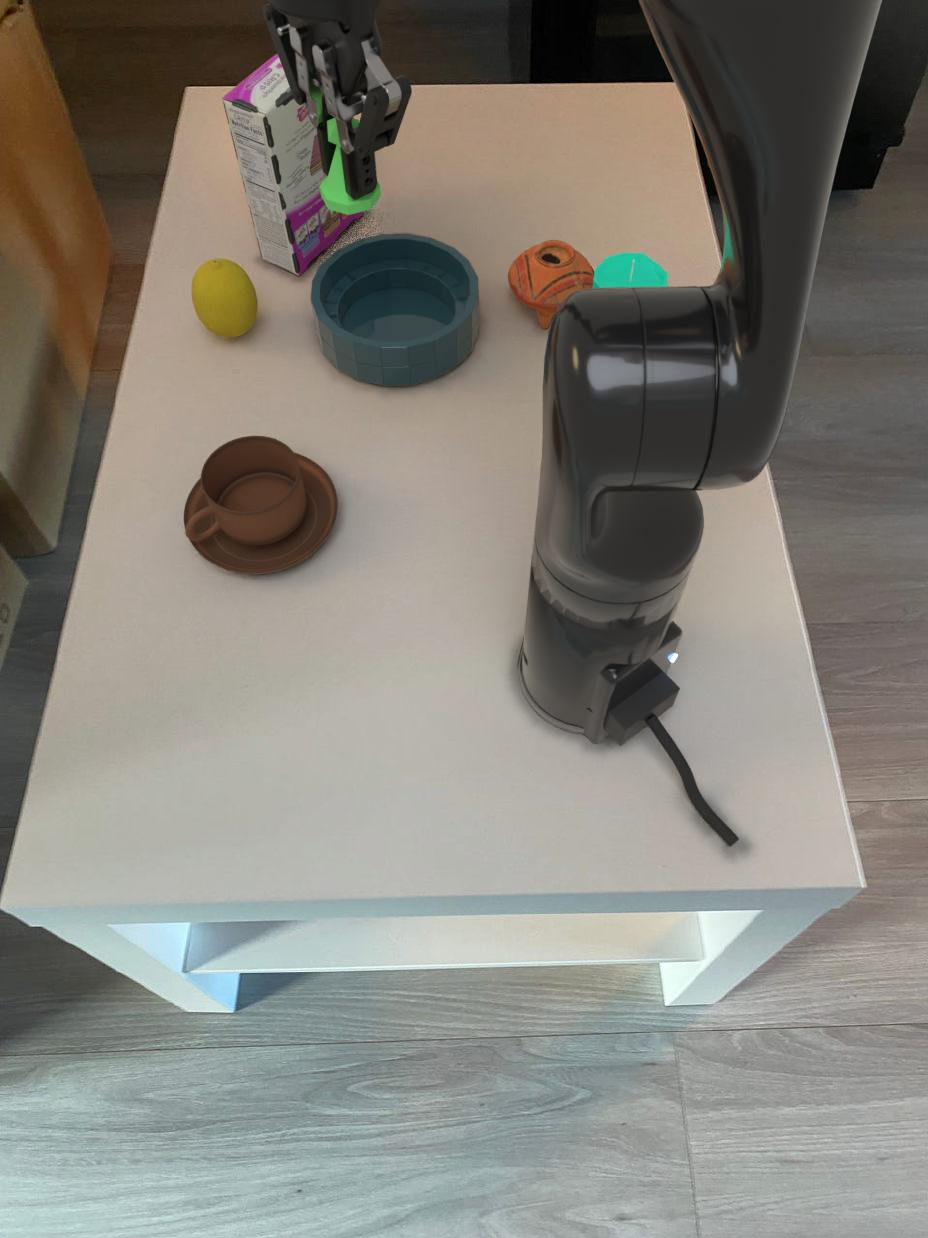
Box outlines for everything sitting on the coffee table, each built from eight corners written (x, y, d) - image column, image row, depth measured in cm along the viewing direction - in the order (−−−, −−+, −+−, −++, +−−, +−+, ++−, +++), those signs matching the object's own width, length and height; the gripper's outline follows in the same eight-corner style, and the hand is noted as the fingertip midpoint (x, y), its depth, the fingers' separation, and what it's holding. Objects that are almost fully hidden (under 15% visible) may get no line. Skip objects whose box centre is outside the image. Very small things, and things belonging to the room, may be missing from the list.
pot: (486, 315, 87) (495, 244, 83) (532, 286, 92) (544, 217, 87) (558, 349, 85) (573, 278, 80) (602, 318, 89) (618, 249, 85)
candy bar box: (325, 198, 97) (299, 30, 83) (365, 214, 95) (346, 46, 81) (257, 261, 92) (218, 94, 78) (298, 279, 91) (266, 112, 77)
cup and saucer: (282, 609, 72) (267, 563, 66) (158, 545, 75) (134, 496, 70) (369, 500, 77) (361, 449, 72) (250, 443, 80) (234, 391, 75)
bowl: (510, 341, 86) (512, 297, 82) (379, 415, 82) (374, 373, 77) (415, 257, 92) (413, 212, 88) (288, 322, 88) (278, 277, 83)
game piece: (353, 168, 70) (344, 87, 64) (393, 195, 68) (386, 114, 63) (308, 195, 68) (294, 114, 63) (348, 223, 66) (337, 142, 61)
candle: (610, 408, 82) (630, 297, 72) (566, 368, 84) (579, 254, 74) (662, 378, 84) (688, 265, 73) (617, 339, 86) (637, 224, 76)
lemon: (254, 359, 85) (235, 287, 78) (195, 351, 86) (171, 278, 79) (272, 317, 88) (255, 244, 81) (216, 309, 89) (194, 236, 82)
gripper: (192, -127, 54) (253, 155, 69) (330, -27, 48) (363, 257, 63) (304, -165, 56) (339, 117, 71) (447, -73, 51) (452, 211, 66)
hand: (350, 181), depth 67 cm, fingers closed on game piece, 2 cm apart
